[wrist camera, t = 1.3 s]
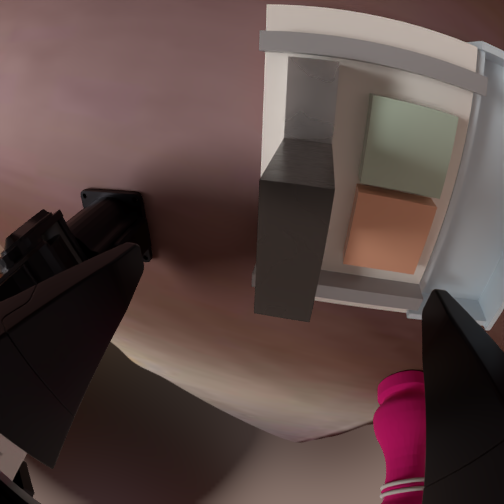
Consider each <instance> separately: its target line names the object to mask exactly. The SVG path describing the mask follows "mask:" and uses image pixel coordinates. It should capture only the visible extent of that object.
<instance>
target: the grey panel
mask: <svg viewBox="0 0 504 504" xmlns="http://www.w3.org/2000/svg"><path fill="white" fill-rule="evenodd" d="M339 64H340V62H337V61H330V60H322V59H313V58H302V57H290V56H288V71H287V91H286V109H285V126H284V138H283V140H282V142H281V144H280V145H279V147H278V149H277V150H276V152H275V154H274V156H273V157H272V159H271V161H270V162H269V164H268V166H267V168H266V169H265V171H264V173H263V174H262V176H261V178H260V181H259V206H258V231H257V255H256V279H255V302H254V313H257V314H262V315H268V316H274V317H280V318H286V319H292V320H298V321H305V322H310V317H311V313H312V309H313V304H314V300H315V295H316V290H317V286H318V281H319V276H320V271H321V266H322V261H323V256H324V251H325V245H326V240H327V235H328V229H329V223H330V217H331V212H332V205H333V199H334V193H335V180H334V164H333V150H332V140H333V131H334V122H335V112H336V101H337V90H338V78H339Z"/></svg>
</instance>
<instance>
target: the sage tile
mask: <svg viewBox="0 0 504 504" xmlns="http://www.w3.org/2000/svg"><path fill="white" fill-rule="evenodd" d="M458 118H459V117H457V116H455V115H453V114H451V113H448V112H444V111H441V110H438V109H434V108H431V107H427V106H424V105H420V104H416V103H412V102H408V101H404V100H400V99H396V98H391V97H387V96H382V95H377V94H372V93H369V102H368V110H367V119H366V126H365V134H364V141H363V147H362V154H361V160H360V166H359V172H358V177H359V180H360V183H363V184H368V185H374V186H379V187H385V188H390V189H395V190H400V191H405V192H410V193H415V194H419V195H424V196H428V197H433V198H437V199H440V196H441V193H442V189H443V186H444V182H445V178H446V174H447V170H448V166H449V162H450V158H451V154H452V149H453V144H454V140H455V135H456V129H457V124H458Z"/></svg>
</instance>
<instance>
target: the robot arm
mask: <svg viewBox="0 0 504 504" xmlns="http://www.w3.org/2000/svg"><path fill="white" fill-rule="evenodd" d="M135 198H137V200H138V201H137V200H136V199H135ZM81 199H82V203H83V207H84V209H82V210H81V211H80V212H78V213H77V214H76V215H75V216H73V217H72V218H71V219H70V220H68V221H67V222H65V220H64V218H63V214H62V212H61V211H60V210H58V211H57V212H55V213H54V214H52V213H49V212H47V211H45V210H44V209H43V210H41V211H40V212H39V213H37V214H36V215H35V216H33V217H32V218H31V219H29V220H28V221H27V222H26V223H24V224H23V225H22V226H21V227H19V228H18V229H17V230H16V231H14V232H13V233H12V234H11V235H10V236H8V237H7V238H6V240H5V247H4V251H3V252H2V253H1V257H0V504H41V503H39V502H38V501H36V500H35V499H34V498H33V495H34V490H33V487H32V483H31V479H30V476H29V472H28V468H27V464H26V462H25V461H23V460H24V458H25V456H26V454H27V453H28V454H29V455H31V456H32V457H34V458H35V459H37V460H38V461H40V462H42V463H43V464H45V465H46V466H48V467H50V468H51V469H53V468H54V466H55V464H56V461H57V459H58V456H59V453H60V450H61V448H62V446H63V443H64V441H65V438H66V436H67V433H68V431H69V429H70V426H71V424H72V422H73V419H74V416H75V414H76V412H77V410H78V408H79V405H80V403H81V401H82V399H83V397H84V394H85V392H86V390H87V388H88V386H89V384H90V381H91V379H92V377H93V375H94V373H95V371H96V369H97V367H98V365H99V363H100V361H101V359H102V357H103V355H104V353H105V351H106V349H107V347H108V345H109V343H110V341H111V339H112V337H113V335H114V333H115V331H116V330H117V328H118V326H119V324H120V322H121V320H122V318H123V316H124V314H125V312H126V310H127V308H128V306H129V304H130V301H131V299H132V297H133V294H134V292H135V290H136V287H137V285H138V283H139V280H140V278H141V276H142V273H143V270H144V263H143V262H150V260H151V259H152V251H151V242H150V237H149V231H148V225H147V220H146V217H145V210H144V204H143V198H142V196H141V194H140V193H138V192H127V191H113V190H97V189H84V190H83V191H82V192H81ZM146 256H147V257H146ZM422 360H423V373H424V387H425V407H426V459H425V478H424V487H425V488H424V489H423V499H422V504H504V352H503V351H502V350H501V349H500V348H499V346H498V345H497V344H496V343H495V342H494V341H493V340H492V338H491V337H490V336H489V335H488V334H487V333H486V332H485V331H484V329H483V328H482V327H481V326H480V325H479V324H478V323H477V322H476V321H475V320H474V319H473V318H472V317H471V315H470V314H469V313H468V312H467V311H466V310H465V309H464V308H463V307H462V306H461V305H460V304H459V303H458V302H457V301H456V300H455V299H454V298H453V297H452V296H451V295H450V294H449V293H448V292H447V291H446V290H441V289H434V290H433V291H432V292H431V294H430V296H429V298H428V300H427V302H426V304H425V306H424V308H423V311H422Z"/></svg>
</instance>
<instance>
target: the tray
mask: <svg viewBox="0 0 504 504" xmlns="http://www.w3.org/2000/svg"><path fill="white" fill-rule="evenodd" d="M466 43H469V44H471V45H473V46H476V47H478V49H477V64H476V73H478V74H480V75H483V76H485V77H487V78H488V84H487V93H486V96H483V95H479V94H476V93H473V99H472V106H471V112H470V118H469V124H468V129H467V134H466V139H465V144H464V148H463V153H462V157H461V161H460V165H459V169H458V173H457V177H456V181H455V184H454V188H453V191H452V195H451V198H450V202H449V205H448V208H447V211H446V214H445V217H444V220H443V223H442V226H441V229H440V232H439V235H438V238H437V240H436V243H435V246H434V249H433V251H432V254H431V256H430V259H429V261H428V264H427V266H426V269H425V271H424V274H423V276H422V278H421V281H420V283H419V286H420V289H421V293H422V296H423V301H422V303H421V305H420V307H419V309H418V311H416V310H407V312H406V314H407V318H411V319H420V320H422V311H423V308H424V306H425V304H426V302H427V300H428V298H429V296H430V294H431V292H432V291H433V290H434V289H441V290H446V291H447V292H448V293H449V294H450V295H451V296H452V297H453V298H454V299H455V300H456V301H457V302H458V303H459V304H460V305H461V306H462V307H463V308H464V309H465V310H466V311H467V312H468V313H469V314H470V315H471V317H472V318H473V319H474V320H475V321H476V322H477V323H478V324H479V325H482V326H484V328H485V330H490V329H491V328H492V326H493V325H494V323H495V322H496V320H497V319H498V317H499V315H500V314H501V312H502V311H503V309H504V51H502V50H500V49H498V48H496V47H494V46H492V45H490V44H488V43H486V42H483V41H477V42H466Z"/></svg>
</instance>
